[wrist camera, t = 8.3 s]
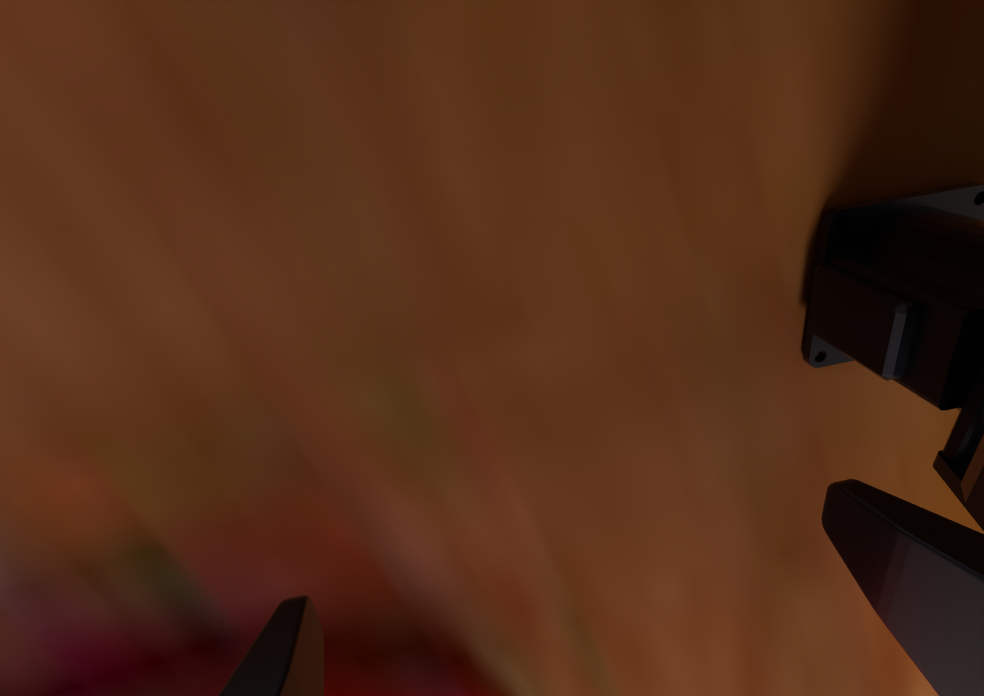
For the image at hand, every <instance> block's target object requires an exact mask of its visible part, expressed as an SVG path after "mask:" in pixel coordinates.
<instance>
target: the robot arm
mask: <svg viewBox="0 0 984 696" xmlns="http://www.w3.org/2000/svg"><path fill="white" fill-rule="evenodd" d="M976 195H977V196H976ZM975 197H976V198H975ZM840 217H841V220H840V223H839V224H838V225H837V226H836V225H835V224H836V221H837V220H838V219H839V218H840ZM819 352H820V353H819ZM818 353H819V355H817V354H818ZM816 355H817V356H816ZM815 356H816V357H815ZM803 359H804V361H805V362H806V363H808V364H809V365H811V366H812V367H814V368H819V367H824V366H829V365H834V364H839V363H844V362H849V361H856V362H858V363H859V364H861V365H862V366H864V367H865V368H867V369H869V370H870V371H872V372H873V373H875V374H876V375H878V376H879V377H881V378H883V379H885V380H894V381H895V382H897V383H899V384H900V385H902V386H903V387H905V388H907V389H908V390H910V391H911V392H913V393H915V394H916V395H918V396H919V397H921V398H922V399H924V400H926V401H927V402H929V403H930V404H932V405H934V406H935V407H937V408H938V409H940V410H949V409H954V408H956V409H958V410H960V412H959V414H958V417H957V419H956V421H955V423H954V426H953V428H952V430H951V433H950V435H949V437H948V439H947V442H946V444H945V446H944V449H943V450H942V451H939V452H938V454H937V456H936V458H935V461H934V463H933V467H934V469H935V470H936V471H937V473H938V474H939V475H940V476H941V478H942V479H943V480H944V481H945V483H946V484H947V485H948V487H949V488H950V489H951V490H952V492H953V493H954V494H955V495H956V497H957V498H958V499H959V501H960V502H961V503H962V504H963V506H964V507H965V508H966V509H967V511H968V512H969V513H970V515H971V516H972V517H973V518H974V520H975V521H976V522H977V523H978V525H979V526H980V527H981V528H982V530H983V531H984V184H983V183H975V182H974V183H969V184H963V185H957V186H951V187H946V188H940V189H934V190H929V191H923V192H917V193H912V194H906V195H900V196H895V197H889V198H883V199H878V200H872V201H866V202H860V203H855V204H849V205H843V206H838V207H834V208H832V209H830V210H829V211H828V212H827V213H826V214H825V216H824V217H823V220H822V224H821V231H820V238H819V245H818V252H817V259H816V266H815V273H814V279H813V286H812V293H811V300H810V307H809V314H808V321H807V329H806V336H805V343H804V350H803ZM822 524H823V528H824V530H825V532H826V534H827V535H828V537H829V539H830V540H831V542H832V543H833V545H834V547H835V548H836V550H837V551H838V553H839V555H840V556H841V558H842V559H843V561H844V563H845V564H846V566H847V567H848V569H849V571H850V572H851V574H852V575H853V577H854V579H855V580H856V582H857V583H858V585H859V587H860V588H861V590H862V592H863V593H864V595H865V596H866V598H867V599H868V601H869V602H870V604H871V605H872V607H873V608H874V610H875V611H876V613H877V614H878V616H879V617H880V618H881V620H882V621H883V622H884V624H885V625H886V627H887V628H888V629H889V630H890V632H891V633H892V634H893V636H894V637H895V638H896V640H897V641H898V642H899V644H900V645H901V646H902V648H903V649H904V650H905V652H906V653H907V654H908V655H909V657H910V658H911V659H912V661H913V662H914V663H915V665H916V666H917V667H918V669H919V670H920V671H921V673H922V674H923V675H924V677H925V678H926V679H927V680H928V682H929V683H930V684H931V686H932V687H933V688H934V690H935V691H936V692H937V694H938V695H939V696H984V534H982V533H980V532H977V531H975V530H973V529H970V528H968V527H966V526H963V525H961V524H959V523H956V522H954V521H952V520H949V519H947V518H945V517H942V516H940V515H938V514H935V513H933V512H931V511H928V510H926V509H924V508H921V507H919V506H917V505H914V504H912V503H910V502H907V501H905V500H903V499H900V498H898V497H896V496H893V495H891V494H889V493H886V492H884V491H882V490H879V489H877V488H875V487H872V486H870V485H868V484H865V483H863V482H861V481H858V480H855V479H848V480H843V481H839V482H834V483H831V484H830V485H829V486H828V488H827V492H826V497H825V502H824V507H823V512H822ZM218 696H324V635H323V630H322V626H321V624H320V621H319V618H318V616H317V613H316V610H315V608H314V605H313V603H312V600H311V598H310V597H309V596H307V595H303V596H298V597H293V598H288V599H285V600H283V601H282V602H281V603H280V604H279V605H278V607H277V608H276V610H275V611H274V613H273V614H272V616H271V617H270V619H269V620H268V622H267V623H266V625H265V626H264V628H263V629H262V631H261V632H260V634H259V635H258V637H257V638H256V640H255V641H254V642H253V644H252V645H251V647H250V648H249V650H248V651H247V653H246V654H245V656H244V657H243V659H242V660H241V662H240V663H239V665H238V666H237V668H236V669H235V671H234V672H233V674H232V675H231V677H230V678H229V680H228V681H227V683H226V684H225V686H224V687H223V689H222V690H221V692H220V693H219V695H218Z"/></svg>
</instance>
